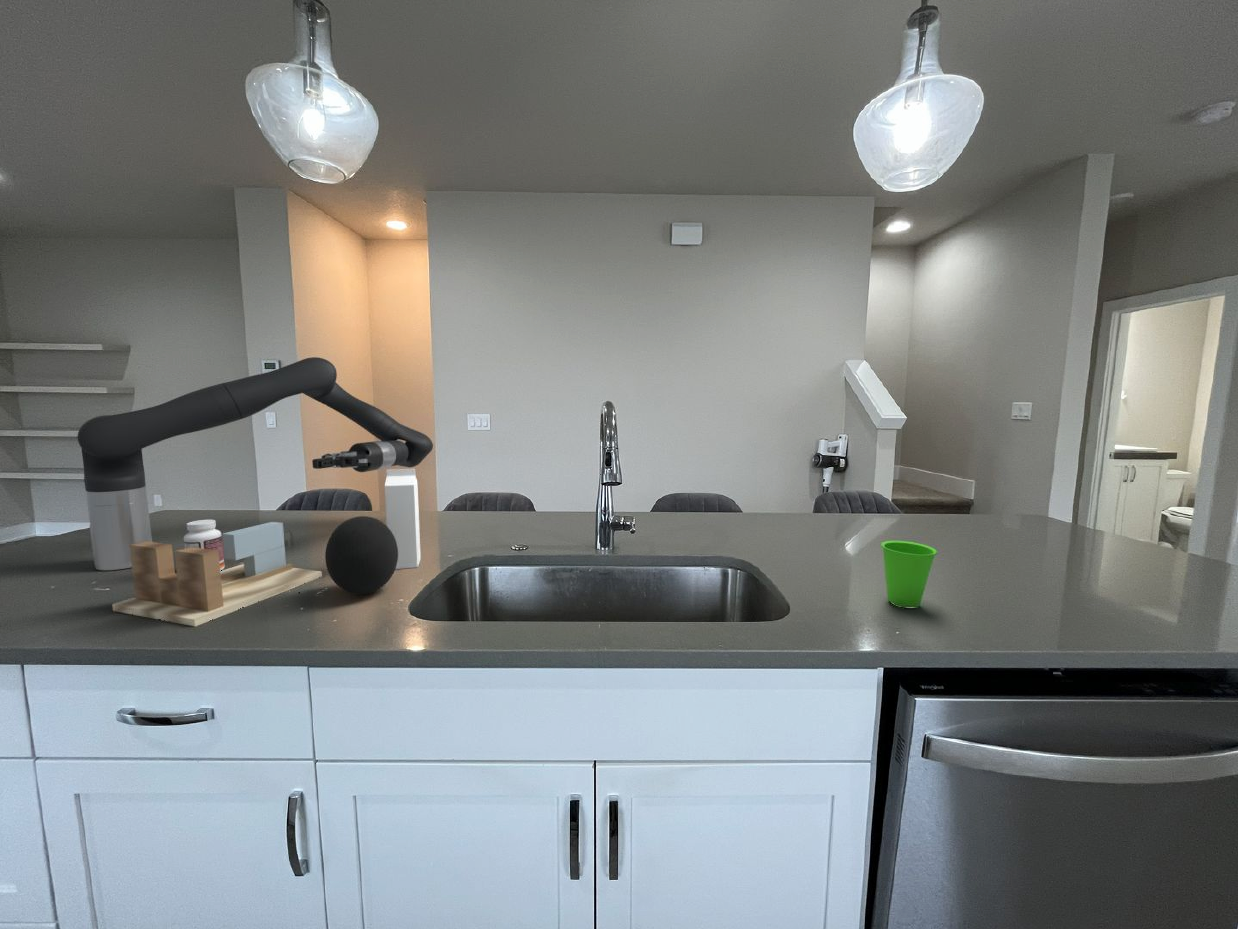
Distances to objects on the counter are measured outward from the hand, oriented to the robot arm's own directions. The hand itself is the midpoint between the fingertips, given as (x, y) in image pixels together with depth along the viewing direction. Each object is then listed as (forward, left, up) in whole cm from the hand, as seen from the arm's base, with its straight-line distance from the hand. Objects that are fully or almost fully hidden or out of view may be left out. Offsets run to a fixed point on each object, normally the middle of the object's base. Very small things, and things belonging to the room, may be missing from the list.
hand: (315, 464), depth 111 cm
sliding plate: (0, -15, -21) cm, 26 cm away
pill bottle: (-16, -14, -23) cm, 31 cm away
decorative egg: (+25, -13, -23) cm, 36 cm away
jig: (0, -21, -22) cm, 31 cm away
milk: (+21, +3, -23) cm, 31 cm away
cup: (+125, +13, -23) cm, 128 cm away
